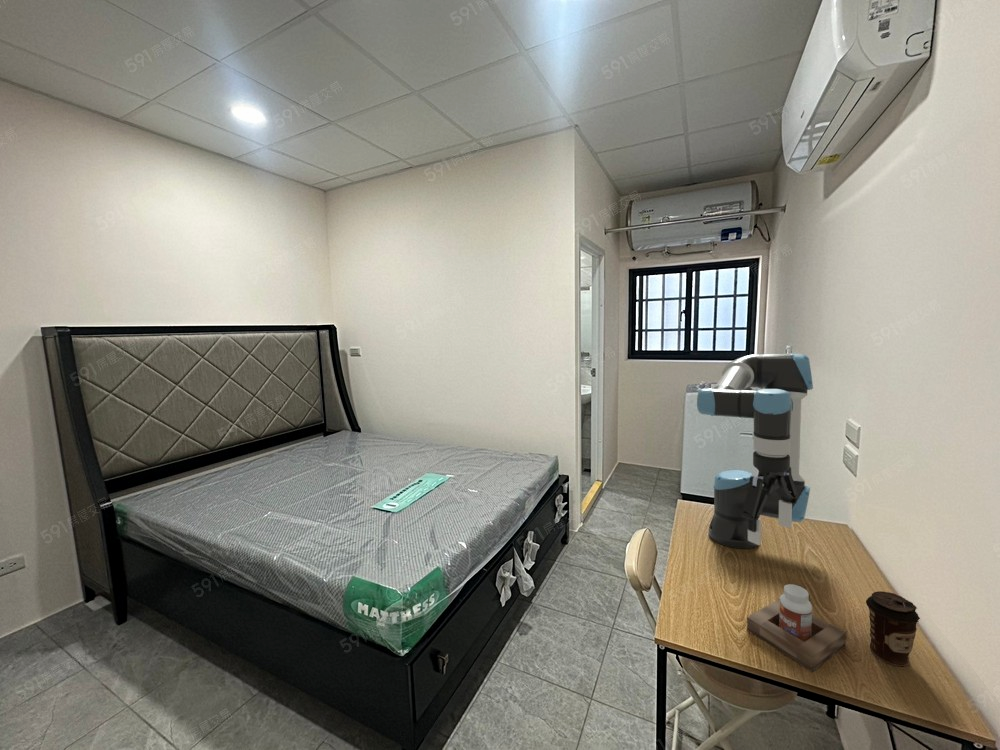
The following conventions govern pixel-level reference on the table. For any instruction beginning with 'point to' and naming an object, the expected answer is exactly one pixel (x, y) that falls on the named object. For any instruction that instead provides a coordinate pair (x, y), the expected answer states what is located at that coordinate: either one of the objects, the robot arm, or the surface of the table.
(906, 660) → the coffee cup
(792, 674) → the table surface
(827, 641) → the bore block
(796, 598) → the pill bottle
